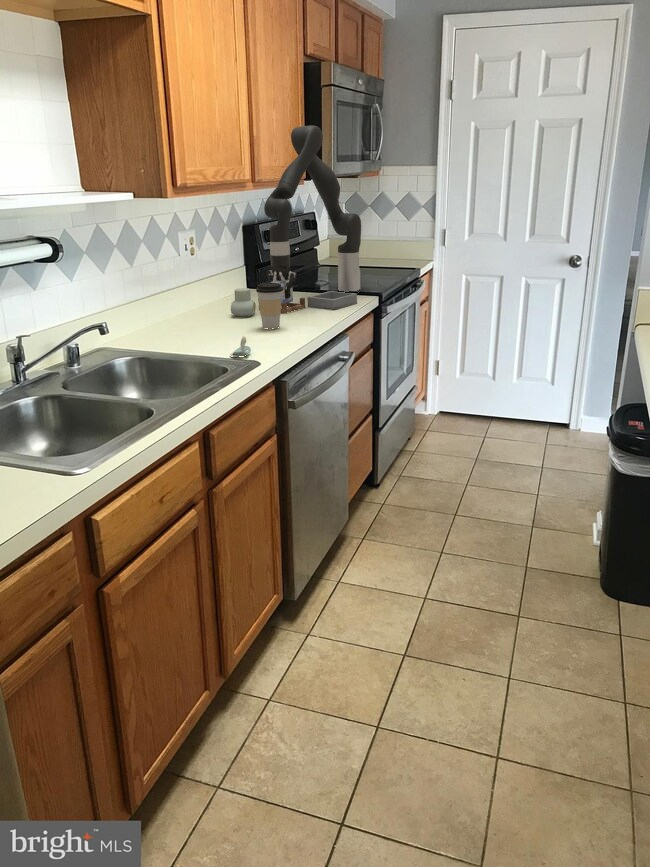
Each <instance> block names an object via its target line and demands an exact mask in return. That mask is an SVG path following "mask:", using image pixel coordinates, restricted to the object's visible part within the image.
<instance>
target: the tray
mask: <svg viewBox="0 0 650 867" xmlns="http://www.w3.org/2000/svg"><path fill="white" fill-rule="evenodd" d="M306 298H307V299H306V300H307V308H312V309H321V310H328V311H329V310H330V311H337V310H340V309H343V308H347V307H350V306H353V305H356V304H358V293H345V292H338V291H334V290H330V291H326V292H321V293H318V294H314V295H311V296H307V297H306Z"/></svg>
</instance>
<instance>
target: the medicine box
mask: <svg viewBox="0 0 650 867" xmlns="http://www.w3.org/2000/svg"><path fill="white" fill-rule="evenodd" d="M285 281H287V280H285ZM271 283H279V284H281V287H283V291H281V303H283V302H285V303H288V302H290V303H293V301H294V295H293V293H294V292H293V287H292V288H291V289H290V294H291V296H290V298H289V299H285V287H284V283H283V281H281V280H277V281H273V282H272V281H271Z"/></svg>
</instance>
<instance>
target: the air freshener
mask: <svg viewBox="0 0 650 867" xmlns="http://www.w3.org/2000/svg"><path fill="white" fill-rule="evenodd" d="M233 290H234V291H233V292H234V300H233V301H232V302H231V303H230V313H231V314H232V315H233V316H235V317H237V316H239V318H246V316H249V317H251V315H252V316H253V315H255V313H256V310H257V308H256V307H257V306H256V302H255V301H254V300H252V299H251V298H252V297H251V296H252V295H251V289H250V288H248V287H239V288H235V289H233Z"/></svg>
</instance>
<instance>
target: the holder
mask: <svg viewBox="0 0 650 867" xmlns="http://www.w3.org/2000/svg"><path fill="white" fill-rule="evenodd" d="M287 306H288V307H287ZM303 308H304V309H306V297H300V298H299V303H298V302H288V303H285V302H283V303H281V314H283V313H286V314H288V313H287V312H289V313H292V312H291V311H293V312H295V311H294V310H297V311H299V310H298V309H300V310H304V309H303ZM258 310H259V311H260V309H259V308H258Z"/></svg>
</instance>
